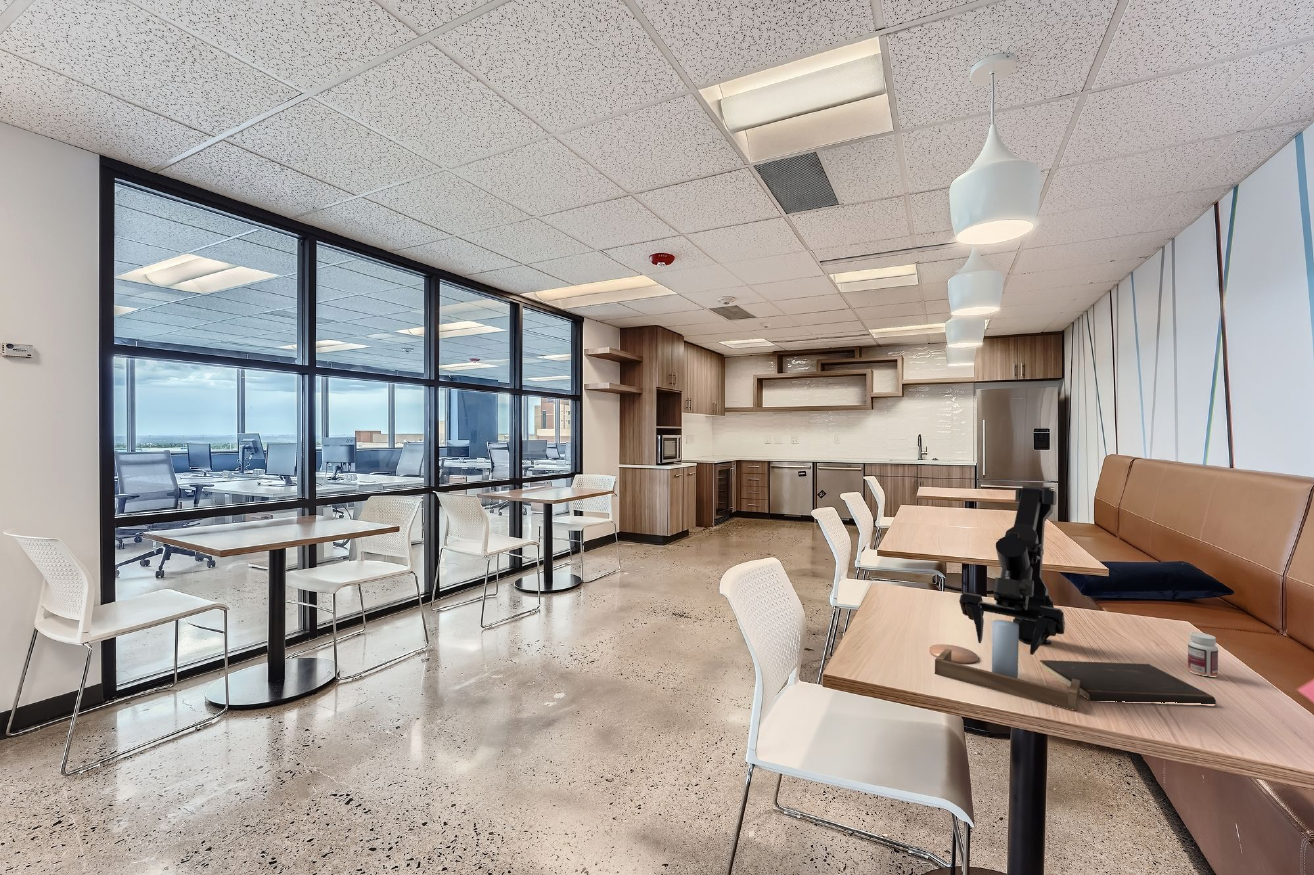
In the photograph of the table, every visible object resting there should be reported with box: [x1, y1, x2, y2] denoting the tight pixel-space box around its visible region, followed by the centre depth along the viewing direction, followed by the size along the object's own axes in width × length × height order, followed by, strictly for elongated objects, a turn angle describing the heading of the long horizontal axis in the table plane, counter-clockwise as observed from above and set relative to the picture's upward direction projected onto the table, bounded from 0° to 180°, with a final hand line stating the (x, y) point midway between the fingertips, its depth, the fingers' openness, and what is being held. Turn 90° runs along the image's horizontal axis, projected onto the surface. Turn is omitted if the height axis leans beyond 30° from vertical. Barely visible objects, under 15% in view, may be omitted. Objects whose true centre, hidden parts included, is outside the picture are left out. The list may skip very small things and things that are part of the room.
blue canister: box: [991, 619, 1020, 679], centre depth 116 cm, size 5×5×12 cm
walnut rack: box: [934, 649, 1081, 711], centre depth 116 cm, size 9×24×3 cm, turn 49°
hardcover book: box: [1039, 659, 1217, 704], centre depth 116 cm, size 16×23×2 cm
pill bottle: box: [1187, 632, 1219, 677], centre depth 123 cm, size 5×5×8 cm
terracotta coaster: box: [928, 643, 979, 665], centre depth 131 cm, size 10×10×1 cm
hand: (1004, 647), depth 116 cm, fingers open, 9 cm apart
